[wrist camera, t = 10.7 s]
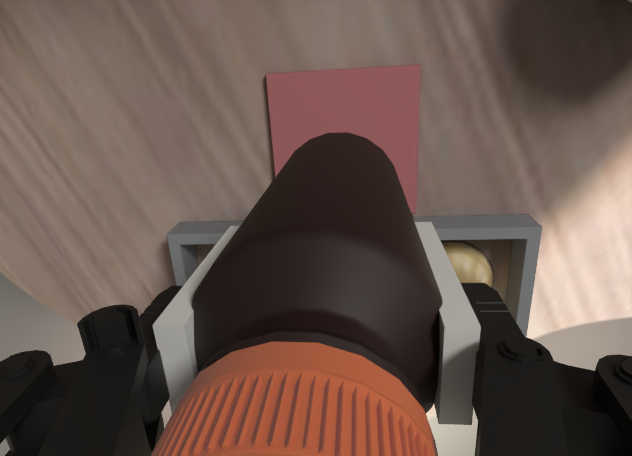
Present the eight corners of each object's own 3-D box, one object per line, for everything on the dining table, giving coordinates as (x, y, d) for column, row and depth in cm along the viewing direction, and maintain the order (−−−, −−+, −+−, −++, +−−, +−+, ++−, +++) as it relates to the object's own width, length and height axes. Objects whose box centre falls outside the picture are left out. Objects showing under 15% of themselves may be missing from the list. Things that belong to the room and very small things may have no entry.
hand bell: (427, 333, 42) (466, 482, 27) (384, 268, 40) (400, 392, 25) (508, 295, 40) (598, 435, 25) (466, 224, 37) (538, 331, 23)
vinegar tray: (179, 222, 40) (166, 234, 37) (318, 218, 38) (315, 231, 36) (201, 339, 44) (190, 357, 42) (325, 339, 43) (323, 359, 40)
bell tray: (374, 217, 38) (376, 230, 35) (528, 214, 37) (542, 226, 34) (375, 340, 43) (377, 359, 40) (511, 341, 41) (522, 361, 38)
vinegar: (337, 103, 23) (254, 272, 4) (423, 189, 24) (646, 606, 6) (257, 190, 25) (-30, 552, 6) (340, 265, 26) (298, 747, 8)
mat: (267, 73, 34) (265, 73, 34) (419, 64, 33) (420, 64, 33) (279, 214, 39) (279, 216, 38) (415, 211, 37) (415, 213, 37)
